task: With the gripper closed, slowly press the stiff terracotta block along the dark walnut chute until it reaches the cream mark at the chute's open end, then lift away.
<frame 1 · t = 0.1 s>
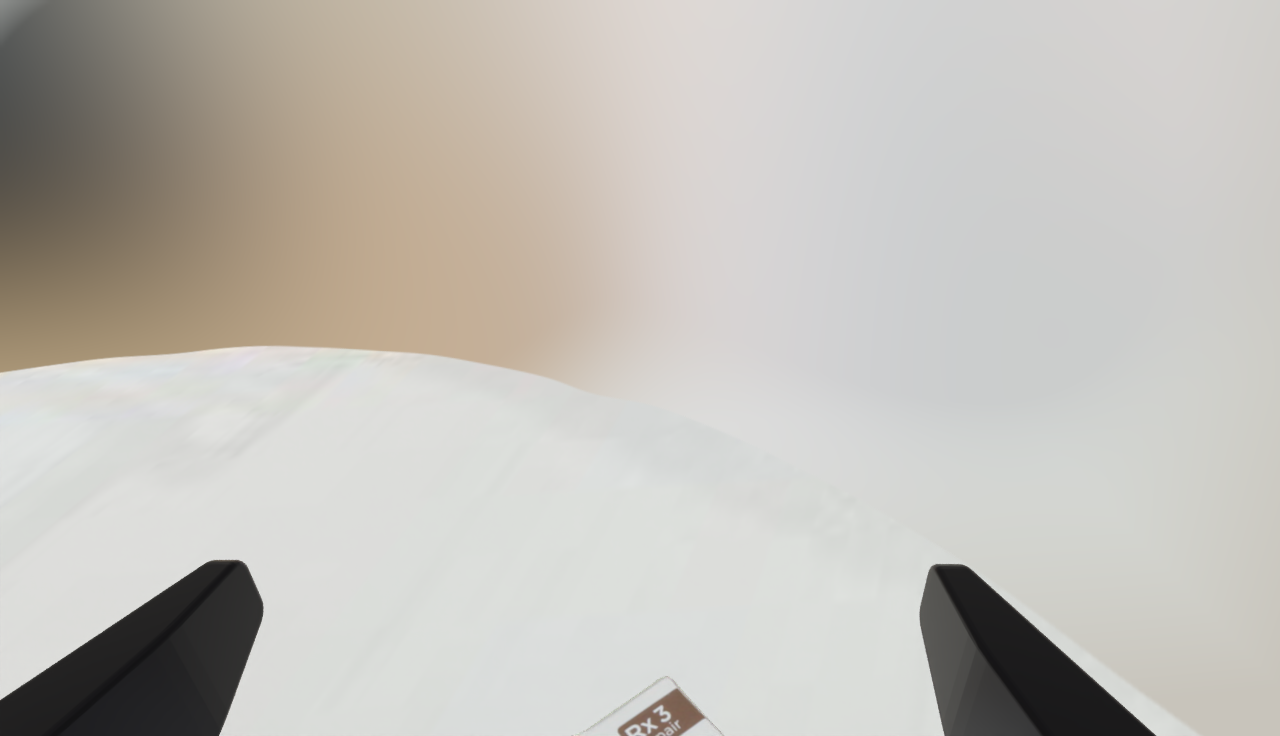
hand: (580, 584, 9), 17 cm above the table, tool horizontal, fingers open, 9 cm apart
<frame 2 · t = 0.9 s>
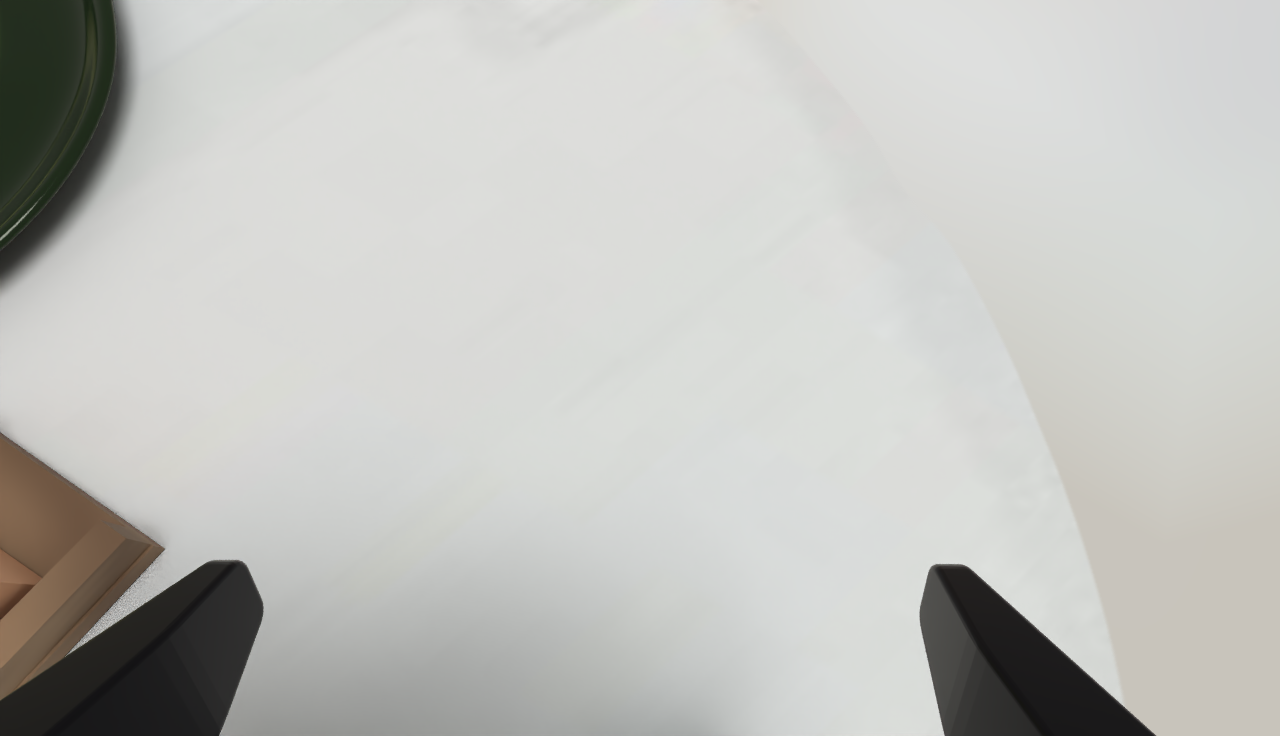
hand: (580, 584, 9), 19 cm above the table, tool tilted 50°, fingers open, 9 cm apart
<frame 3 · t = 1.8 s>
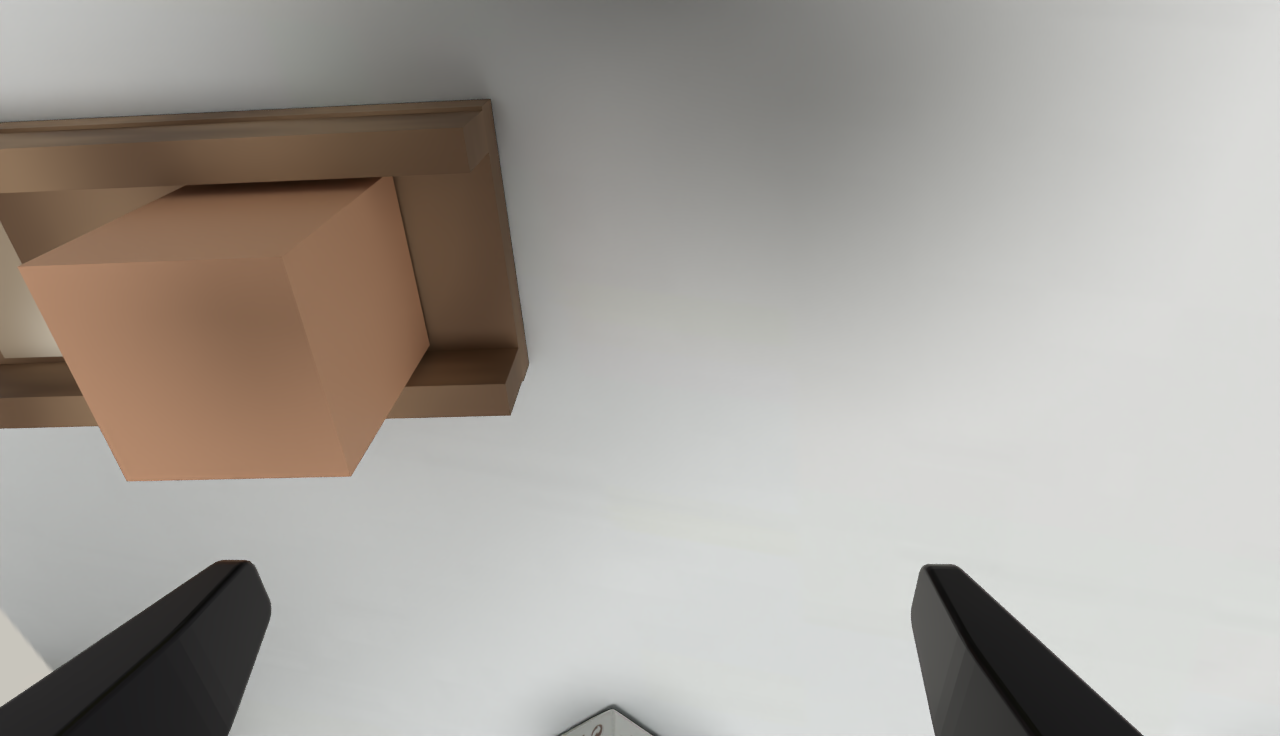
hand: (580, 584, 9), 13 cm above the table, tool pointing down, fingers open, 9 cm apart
stuck block: (268, 314, 17), point 4 cm above the table, slide at 0.0 cm
chute: (236, 254, 21), on the table
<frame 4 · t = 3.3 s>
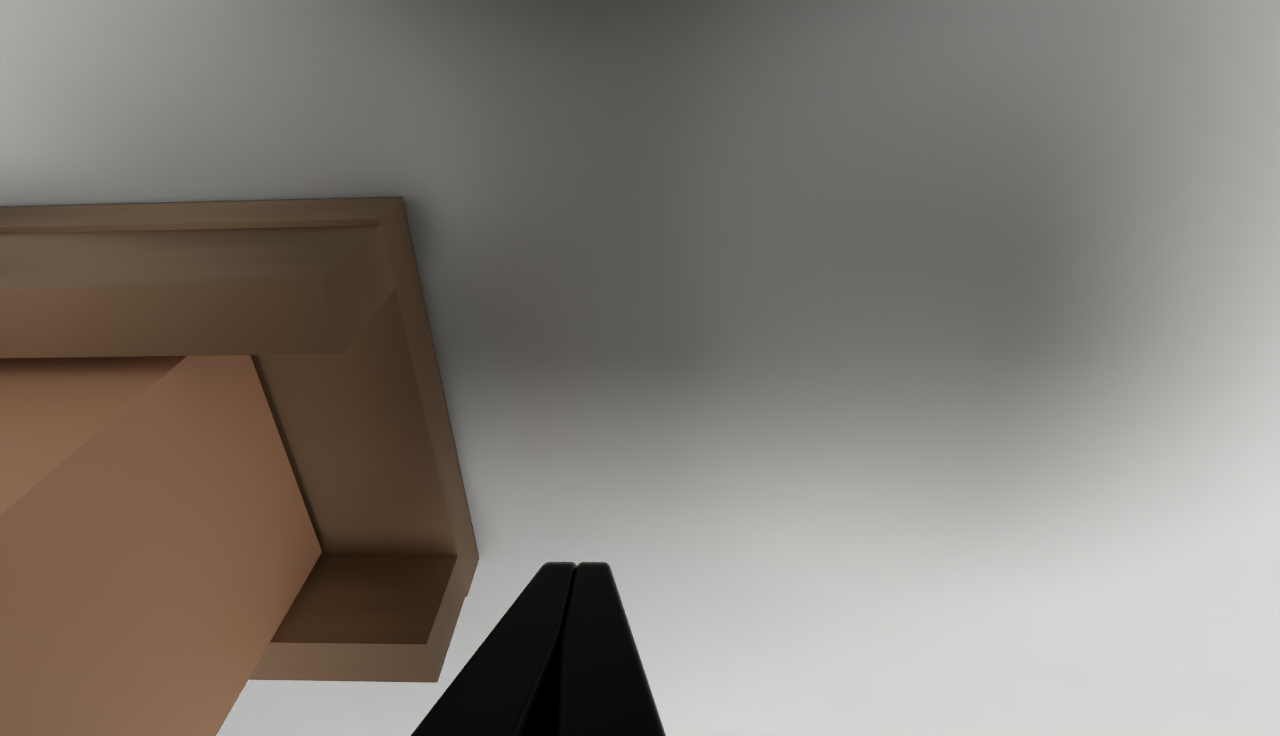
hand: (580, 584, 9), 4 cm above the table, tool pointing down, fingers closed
stuck block: (4, 578, 10), point 4 cm above the table, slide at 0.0 cm
chute: (32, 408, 14), on the table
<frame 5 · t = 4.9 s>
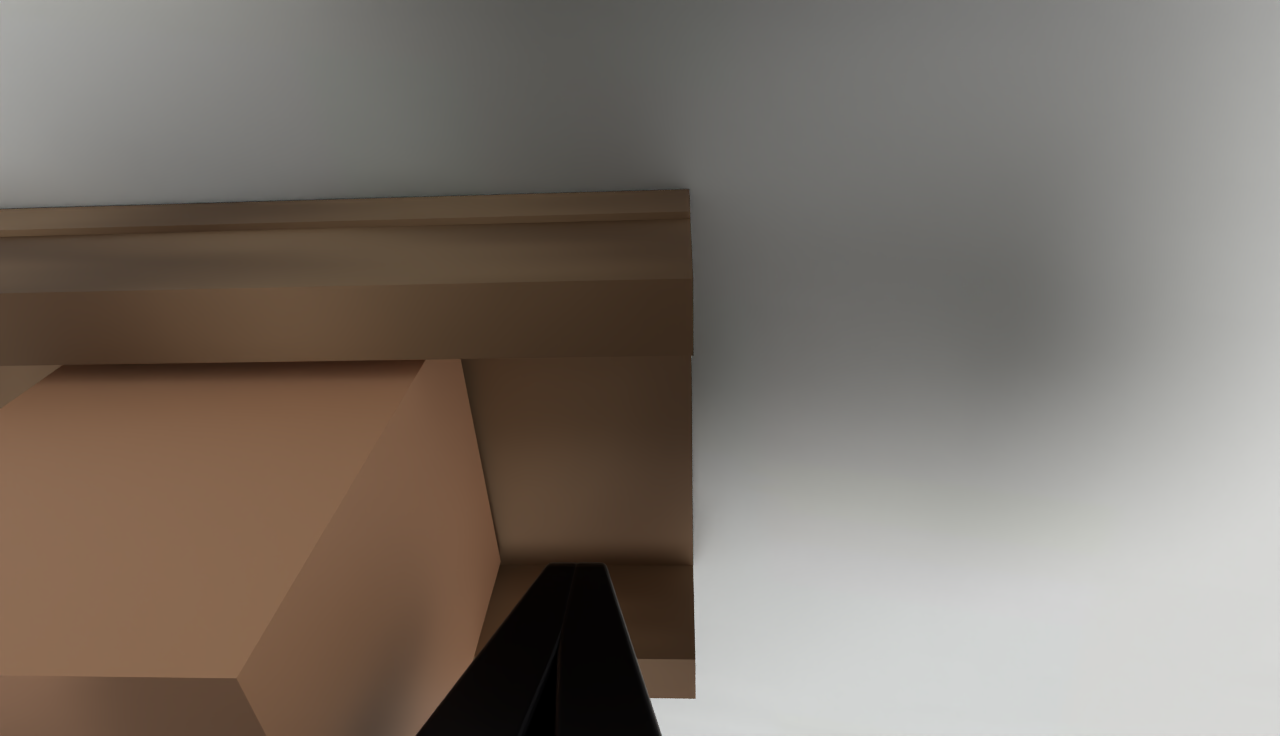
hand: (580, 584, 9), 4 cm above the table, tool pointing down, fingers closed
stuck block: (235, 594, 9), point 4 cm above the table, slide at 1.0 cm, touching gripper
chute: (250, 413, 13), on the table
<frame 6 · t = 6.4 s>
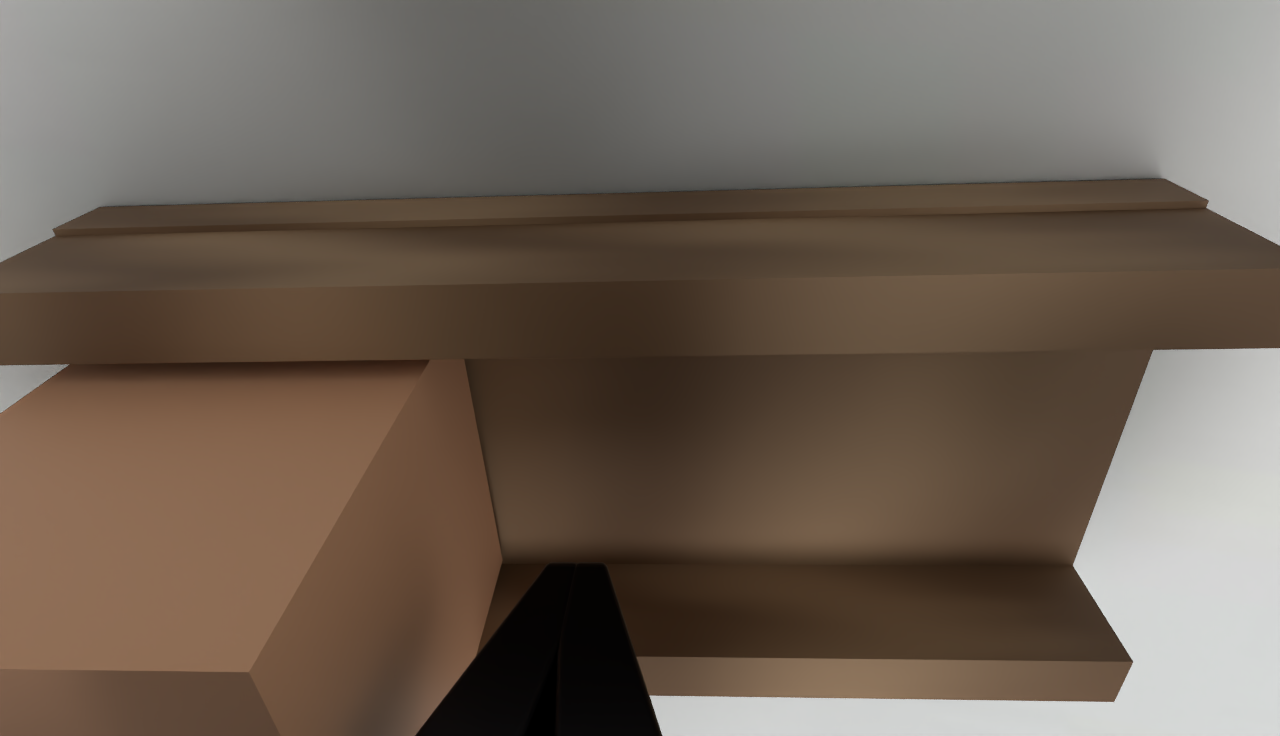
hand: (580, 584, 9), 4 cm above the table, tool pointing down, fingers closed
stuck block: (241, 591, 9), point 4 cm above the table, slide at 7.8 cm, touching gripper
chute: (623, 408, 13), on the table
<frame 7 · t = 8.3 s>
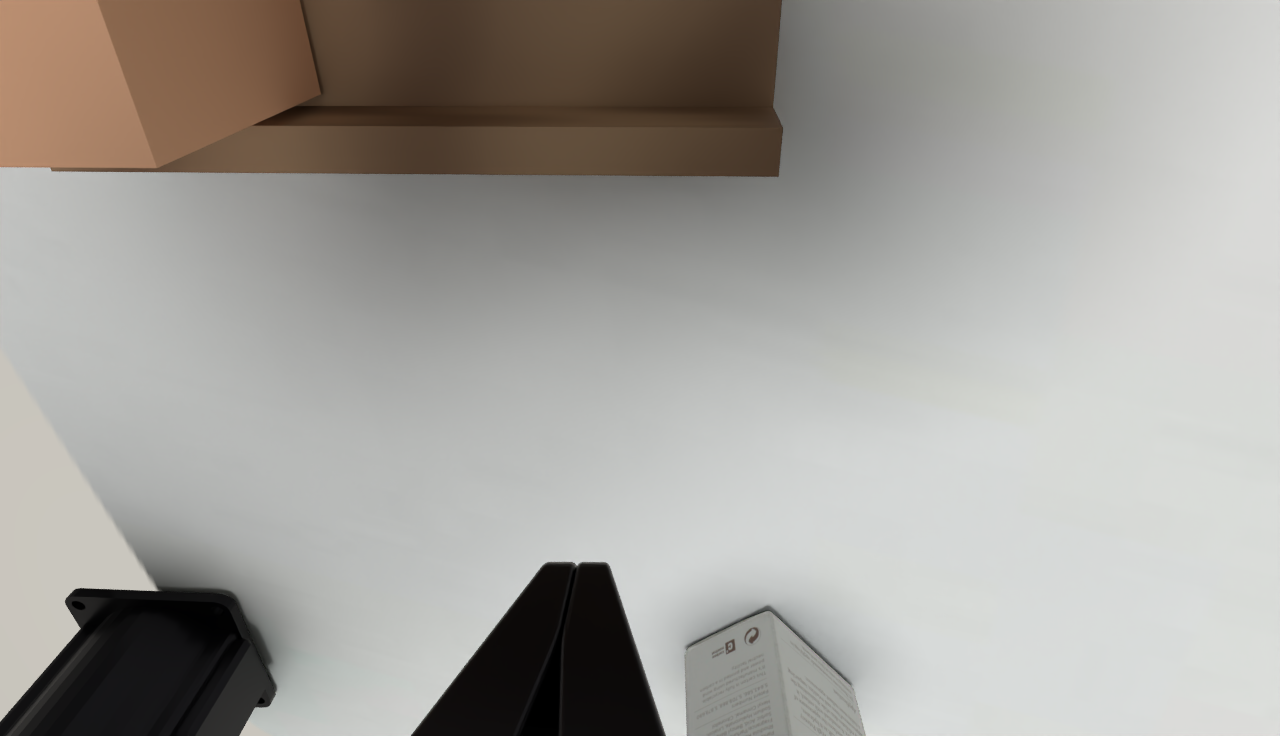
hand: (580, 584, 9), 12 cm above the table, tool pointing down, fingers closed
skincare box: (774, 662, 28), on the table
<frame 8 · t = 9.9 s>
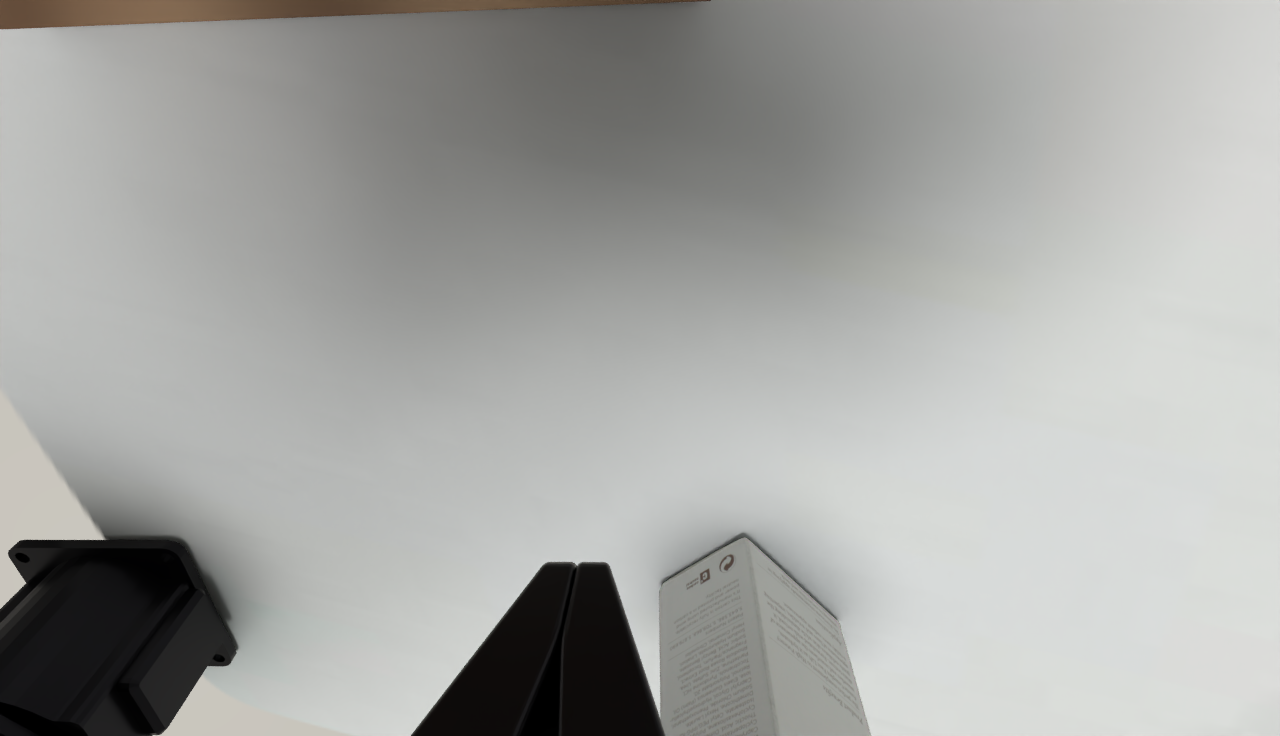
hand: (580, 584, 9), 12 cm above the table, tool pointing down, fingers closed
skincare box: (754, 598, 27), on the table
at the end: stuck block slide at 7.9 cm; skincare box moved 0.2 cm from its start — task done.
